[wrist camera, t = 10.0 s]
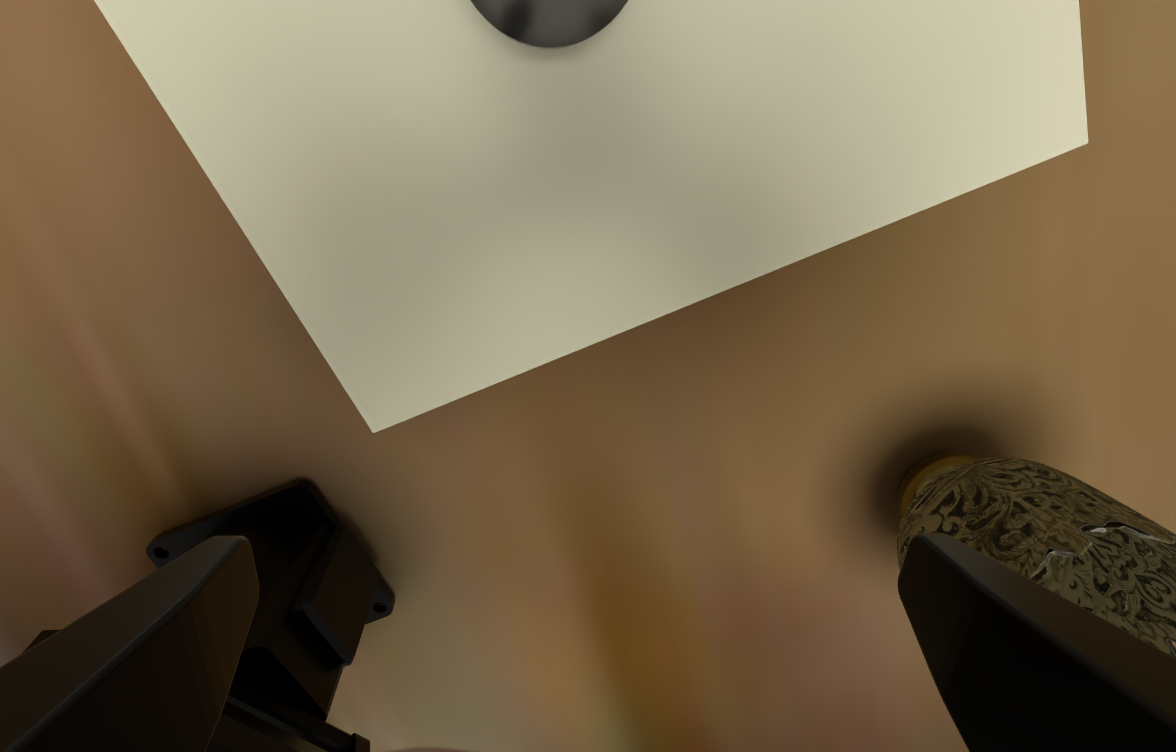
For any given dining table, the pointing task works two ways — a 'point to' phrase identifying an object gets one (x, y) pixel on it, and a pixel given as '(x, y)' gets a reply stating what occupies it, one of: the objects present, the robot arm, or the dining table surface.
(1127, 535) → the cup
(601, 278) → the dial plate
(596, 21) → the dark knobbed cylinder
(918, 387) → the dining table surface
